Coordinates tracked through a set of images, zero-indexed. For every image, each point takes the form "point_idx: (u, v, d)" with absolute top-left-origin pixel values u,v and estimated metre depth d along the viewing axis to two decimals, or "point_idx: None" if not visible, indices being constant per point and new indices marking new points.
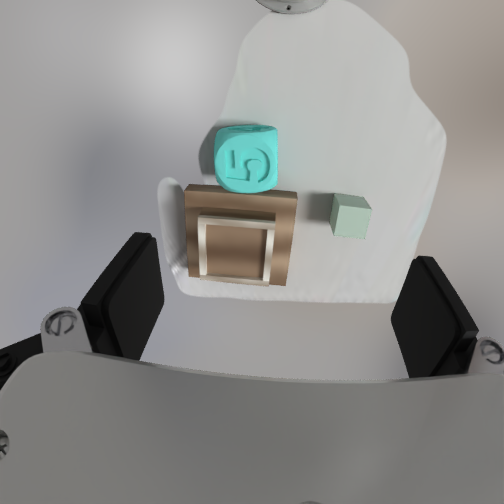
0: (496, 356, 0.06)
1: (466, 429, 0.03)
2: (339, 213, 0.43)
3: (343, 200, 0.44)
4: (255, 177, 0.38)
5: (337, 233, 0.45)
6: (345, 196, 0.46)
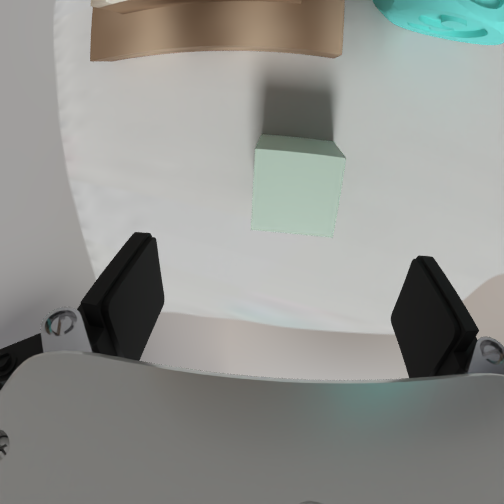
0: (496, 356, 0.06)
1: (466, 429, 0.03)
2: (323, 158, 0.16)
3: None
4: None
5: (263, 157, 0.16)
6: None
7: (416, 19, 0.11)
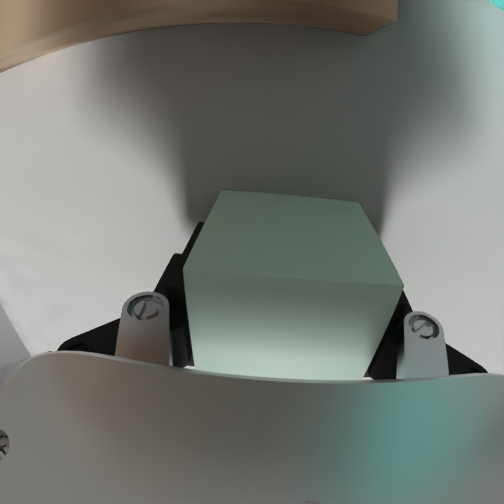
0: (429, 329, 0.07)
1: (466, 429, 0.03)
2: (351, 288, 0.07)
3: None
4: None
5: (204, 288, 0.07)
6: None
7: None
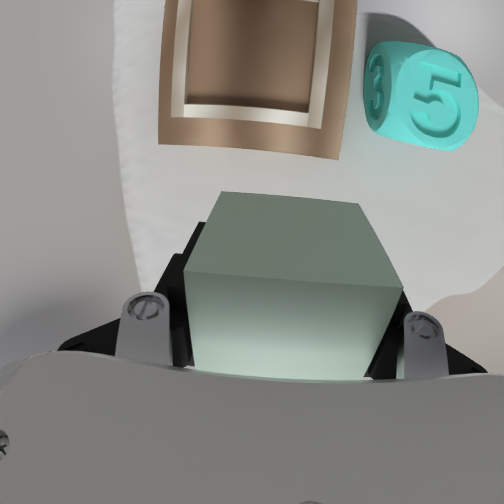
0: (429, 329, 0.07)
1: (466, 429, 0.03)
2: (351, 290, 0.07)
3: None
4: (418, 109, 0.17)
5: (205, 289, 0.07)
6: None
7: None
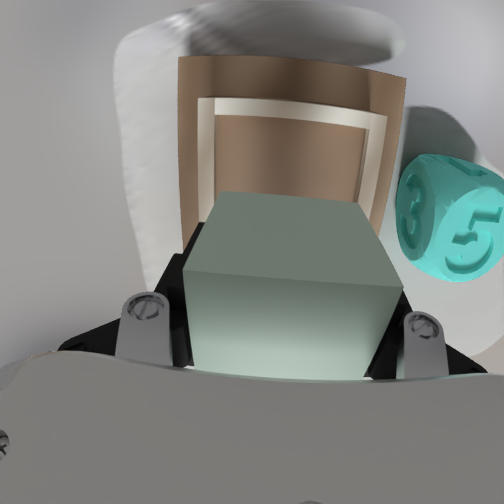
0: (429, 329, 0.07)
1: (466, 429, 0.03)
2: (351, 290, 0.07)
3: None
4: (454, 252, 0.18)
5: (204, 289, 0.07)
6: None
7: None
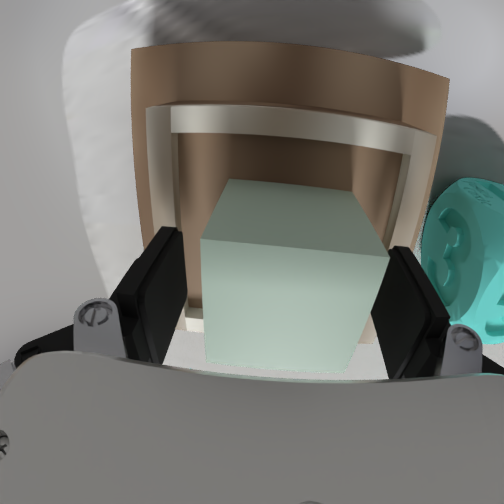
0: (469, 343, 0.06)
1: (466, 429, 0.03)
2: (344, 258, 0.08)
3: None
4: (496, 315, 0.12)
5: (218, 256, 0.08)
6: None
7: None
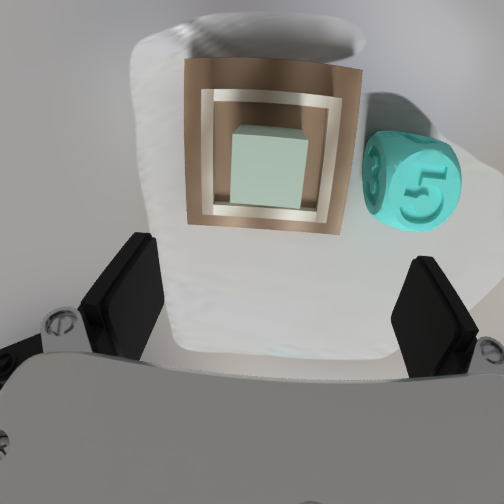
0: (496, 356, 0.06)
1: (466, 429, 0.03)
2: (289, 140, 0.19)
3: None
4: (407, 204, 0.24)
5: (239, 141, 0.19)
6: None
7: None
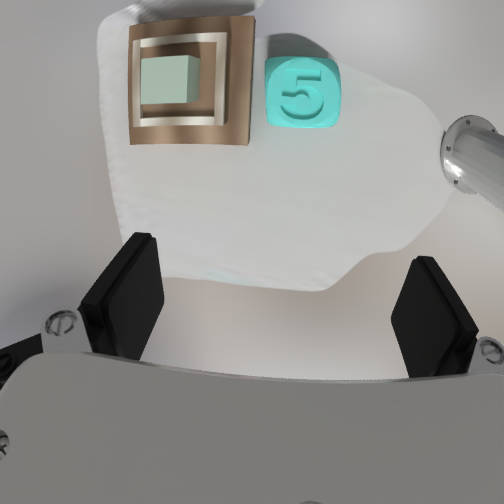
0: (496, 356, 0.06)
1: (466, 429, 0.03)
2: (175, 57, 0.24)
3: (193, 65, 0.27)
4: (286, 102, 0.29)
5: (145, 62, 0.25)
6: (197, 72, 0.29)
7: None
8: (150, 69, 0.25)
